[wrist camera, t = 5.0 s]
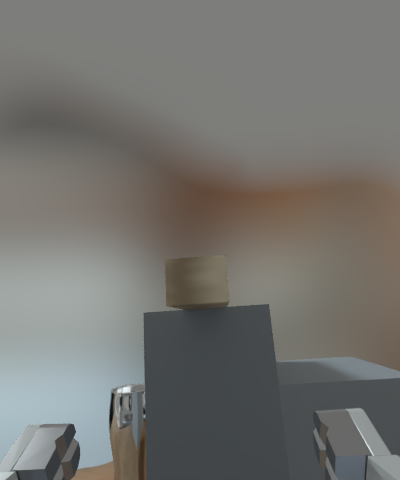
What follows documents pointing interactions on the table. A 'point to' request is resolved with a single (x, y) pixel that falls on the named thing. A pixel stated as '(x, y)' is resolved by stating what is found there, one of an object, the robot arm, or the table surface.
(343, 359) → the stepped shelf
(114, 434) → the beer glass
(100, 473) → the table surface
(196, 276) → the wooden rod
